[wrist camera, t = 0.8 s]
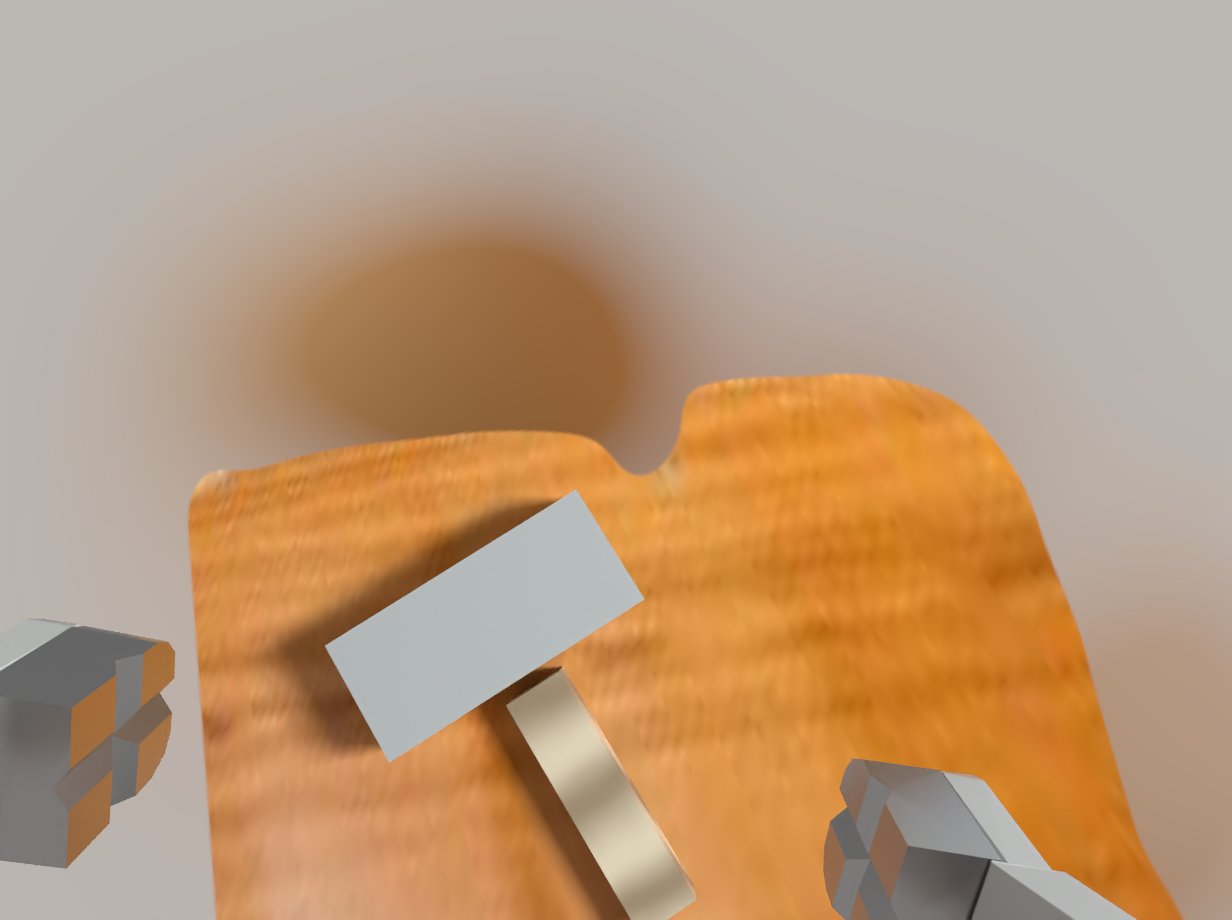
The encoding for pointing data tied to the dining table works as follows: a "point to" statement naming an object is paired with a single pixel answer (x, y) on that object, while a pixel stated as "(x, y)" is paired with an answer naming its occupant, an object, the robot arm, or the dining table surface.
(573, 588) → the end cap
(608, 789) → the slat
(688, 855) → the dining table surface
